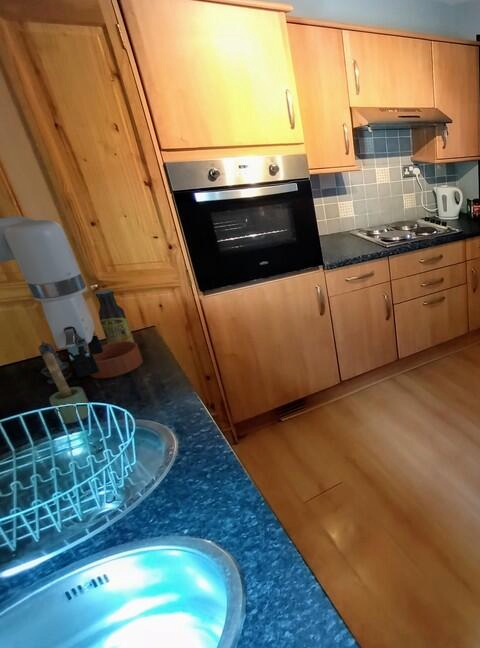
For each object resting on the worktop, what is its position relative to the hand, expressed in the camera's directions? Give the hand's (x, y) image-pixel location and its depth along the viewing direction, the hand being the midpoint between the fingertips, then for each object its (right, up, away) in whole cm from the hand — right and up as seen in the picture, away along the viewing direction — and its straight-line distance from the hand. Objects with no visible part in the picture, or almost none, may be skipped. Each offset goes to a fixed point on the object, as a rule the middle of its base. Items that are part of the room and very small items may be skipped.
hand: (91, 363), depth 93 cm
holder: (-22, -16, +20) cm, 34 cm away
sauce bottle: (-38, -2, +52) cm, 64 cm away
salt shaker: (-43, -9, +36) cm, 57 cm away
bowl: (-30, -7, +41) cm, 51 cm away
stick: (-22, -16, +20) cm, 34 cm away
